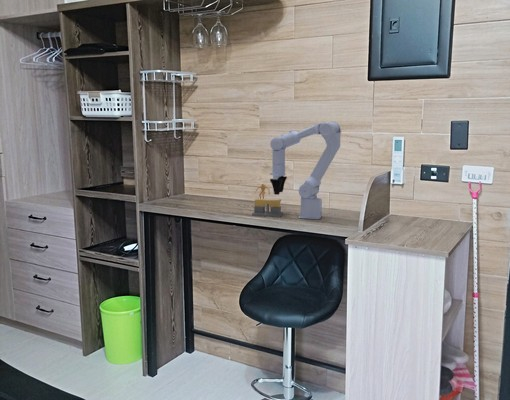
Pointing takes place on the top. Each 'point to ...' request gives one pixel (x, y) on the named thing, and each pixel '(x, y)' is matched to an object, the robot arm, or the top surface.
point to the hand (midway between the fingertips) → (278, 193)
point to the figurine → (263, 190)
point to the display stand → (267, 211)
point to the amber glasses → (267, 202)
